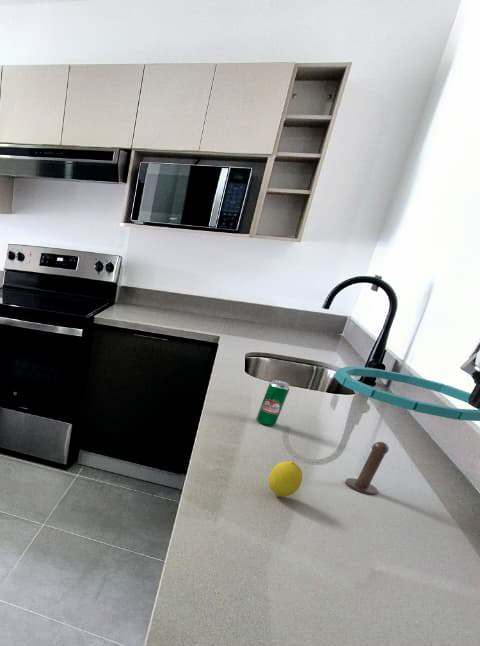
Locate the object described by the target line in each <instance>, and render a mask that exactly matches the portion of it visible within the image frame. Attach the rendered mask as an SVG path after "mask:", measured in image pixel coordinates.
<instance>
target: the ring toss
mask: <svg viewBox="0 0 480 646" xmlns="http://www.w3.org/2000/svg"><path fill="white" fill-rule="evenodd" d="M389 449H390V448H389V445H388V444H387V443H385V442H383V441H376V442H375V443H373V444H372V446H371V450H370V453H369V454H368V456H367V459H366V460H365V463H364V465H363V467H362V468H361V470H360V472H359V474H358V477H357V478H353V477H349V478H346V479H345V482H344V484H345V485H346V486H347V487H348V488H350V489H352V490H353V491H355V492H358V493H361V494H365V495H369V496H375V495H377V493H378V492H379V491H378V488H377V487H376V486H375V485H374V484H371V483H372V481H373V479H374V478H375V475H376V473H377V471H378V469H379V468H380V466H381V463H382V461H383V459H384V457H385V456H386V454H387V453H388V452H389Z"/></svg>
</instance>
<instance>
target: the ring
mask: <svg viewBox="0 0 480 646" xmlns="http://www.w3.org/2000/svg"><path fill="white" fill-rule="evenodd" d="M353 376H354V377H366V378H367V377H368V378H377V379H383V380H388V381H394V382H398V383H404V384H407V385H412V386H415V387H419V388H423V389H425V390H428V391H429V390H430V391H433V392H437V393H440V394H442V395H445V396H448V397H450V398H453V399H457V400H459V401H462V402H464V403H467V404H468V402H469V400H468V399H469V396H470V395H471V393H472V392H471V393H470V392H468V391H465V390H463V389H459V388H457V387H455V386H452V385H448V384H445V383H442V382H437V381H434V380H429V379H427V378H424V377H423V378H422V377H418V376H416V375H415V376H414V375H411V374H407V373H401V372H396V371H391V370H387V369H386V370H385V369H379V368H373V367H363V366H350V365H349V366H344V367H340V368H338V369H336V371H335V373H334V379H336V381H337V382H338V383H339V384H340V385H341V386H343V387H345V388H346V389H349V390H351V391H354V392H356V393H358V394H360V395H363V396H365V397H367V398H369V399H370V398H372V400H376V401H379V402H382V403H386V404H389V405H392V406H395V407H399V408H402V409H405V410H408V411H413V412H415V413H420V414H424V415H425V414H427V415H431V416H436V417H440V418H446V419H450V420H456V421H457V420H458V421H470V422H480V408H476V409H471V408H470V409H469V408H457V407H456V408H455V407H450V406H447V405H445V406H444V405H441V404H435V403H430V402H425V401H420V400H416V399H412V398H408V397H406V396H402V395H398V394H395V393H391V392H387V391H384V390H381V389H378V388H376V387H373V386H371V385H368V384H366V383H363V382H362V381H359V380H356V379H354V378H353Z"/></svg>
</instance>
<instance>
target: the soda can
mask: <svg viewBox="0 0 480 646" xmlns="http://www.w3.org/2000/svg"><path fill="white" fill-rule="evenodd" d="M289 392H290V383H288V382H286V381H283V380H279V379H272V380H271V382H269V383H268V386H267V388H266V392H265V394H264V396H263V399H262V402H261V405H260V407H259V410H258V413H257V415H256V418H255V419H256V422H258V424H261V425H263V426H267V427H273V426H276V424H277V422H278V419H279V417H280V414H281V412H282V409H283V407H284V405H285V404H284V403H285V402H286V399H287V397H288V394H289Z"/></svg>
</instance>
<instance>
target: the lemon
mask: <svg viewBox="0 0 480 646" xmlns="http://www.w3.org/2000/svg"><path fill="white" fill-rule="evenodd" d="M302 482H303V472H302V469H301V467H300V466H299V465H298V464H296V463H295V462H294V461H293V460H290V461H282V462H279V463H277V464H276V465H275V466H274V467H273V468H272V470H271V471H270V473H269V476H268V486H269V489H270V491H272V492H273V493H274V495H275V496H276V497H278V498H282V497H289V496H292V495H293V494H295V493H297V491H298V490H299V489H300V487H301V485H302Z"/></svg>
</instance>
